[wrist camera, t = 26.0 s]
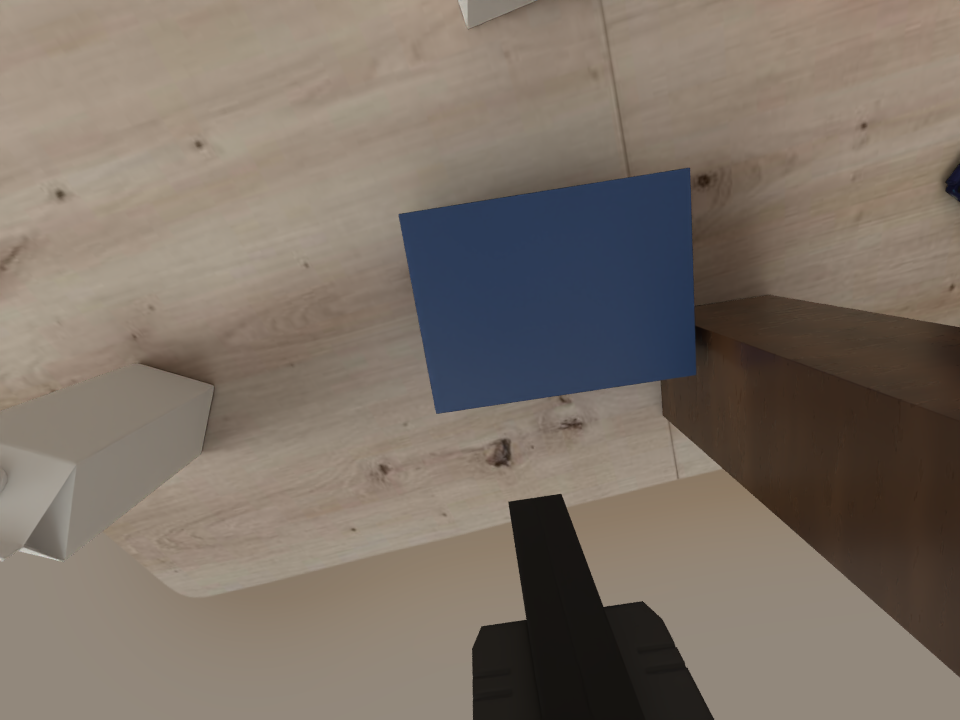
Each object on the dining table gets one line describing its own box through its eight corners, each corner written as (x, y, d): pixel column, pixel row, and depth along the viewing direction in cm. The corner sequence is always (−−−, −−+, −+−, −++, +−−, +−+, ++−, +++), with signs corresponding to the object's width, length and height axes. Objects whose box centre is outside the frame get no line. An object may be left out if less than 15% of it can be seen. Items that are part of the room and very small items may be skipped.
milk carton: (202, 453, 42) (-2, 614, 24) (125, 432, 42) (-147, 581, 23) (216, 384, 41) (8, 501, 22) (135, 361, 40) (-148, 461, 22)
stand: (662, 415, 43) (1003, 716, 16) (657, 311, 40) (1052, 454, 13) (767, 399, 42) (1296, 674, 15) (768, 294, 40) (1403, 402, 13)
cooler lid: (684, 169, 29) (690, 167, 28) (691, 372, 32) (696, 375, 31) (400, 214, 29) (398, 214, 28) (436, 410, 32) (436, 414, 32)
